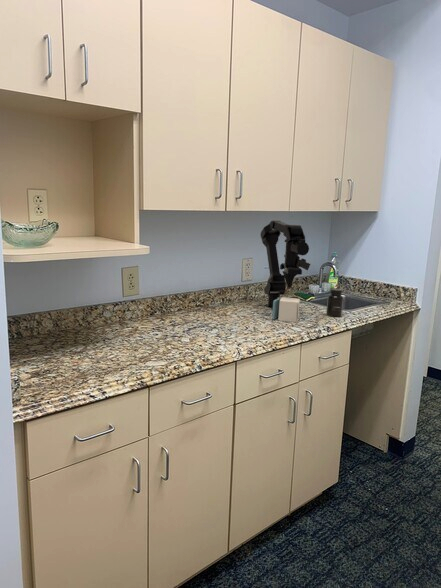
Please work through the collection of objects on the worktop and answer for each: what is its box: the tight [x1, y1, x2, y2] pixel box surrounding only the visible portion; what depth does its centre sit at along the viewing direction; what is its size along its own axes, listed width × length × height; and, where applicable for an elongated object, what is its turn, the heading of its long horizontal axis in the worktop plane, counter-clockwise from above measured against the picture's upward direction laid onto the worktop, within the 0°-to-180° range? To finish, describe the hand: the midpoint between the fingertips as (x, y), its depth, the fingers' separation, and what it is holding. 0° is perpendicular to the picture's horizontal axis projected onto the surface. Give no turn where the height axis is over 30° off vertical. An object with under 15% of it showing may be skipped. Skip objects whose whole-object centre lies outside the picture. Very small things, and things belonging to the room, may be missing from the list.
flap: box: [271, 297, 282, 320], centre depth 197 cm, size 9×2×8 cm, turn 156°
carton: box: [277, 297, 301, 323], centre depth 196 cm, size 9×8×8 cm
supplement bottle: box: [325, 288, 344, 318], centre depth 207 cm, size 7×7×12 cm
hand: (289, 287), depth 206 cm, fingers closed
